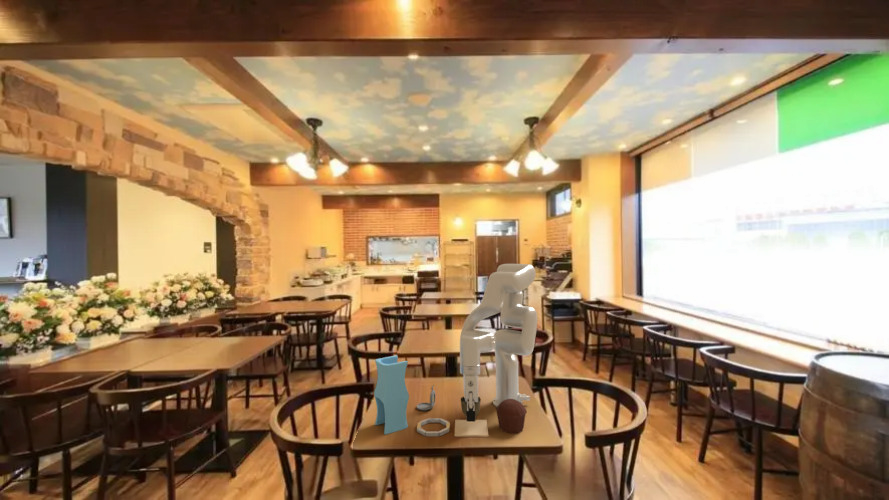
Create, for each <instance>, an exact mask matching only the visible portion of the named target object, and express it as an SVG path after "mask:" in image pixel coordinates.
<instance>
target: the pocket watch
mask: <svg viewBox="0 0 889 500" xmlns="http://www.w3.org/2000/svg"><path fill="white" fill-rule="evenodd" d="M430 389H431V391H430V395H429V402H421V403H418V404H416V409H417V410H420V411H429V410H431V409H432V408H433V407H434V406H435V404H436V391H435V390H434V384H433V385H432V386H431V388H430Z"/></svg>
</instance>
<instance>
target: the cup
mask: <svg viewBox="0 0 889 500" xmlns="http://www.w3.org/2000/svg"><path fill="white" fill-rule="evenodd" d="M481 399H482V398H481V397H480V396H478V403H477V402H475V401H474V402H475V403H474V404H475V420H477V419H476V417H477V416H478V415H479V413H480V409H481V402H482V400H481ZM468 401H469V400H468ZM472 401H473V400H472ZM460 405H461V411H462V414H463V416H465V417H466V410H467V403H466V402H465V396H462V397H460ZM468 405H469V403H468ZM468 409H469V408H468Z"/></svg>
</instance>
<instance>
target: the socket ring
mask: <svg viewBox="0 0 889 500" xmlns="http://www.w3.org/2000/svg"><path fill="white" fill-rule="evenodd" d="M430 423H432V424H434V423H435V424H439V423H440V424H442V426H445V428H442V429H441V430H437V431H435V430H434V431H433V430H432V431H427V430H425V429H423V428H422V426H424V425H427V424H430ZM416 425H417V426H416V432H417V433H418V434H420V435H422V436H424V437H442V436H443V435H445V434H448V433H449V432H450V428H451V423H450V421H448V420H447V419H446V420H445V419H444V418H440V417H437V418H435V417H428V418H426V419H422V420H420V421H419V422H417V424H416Z"/></svg>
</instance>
